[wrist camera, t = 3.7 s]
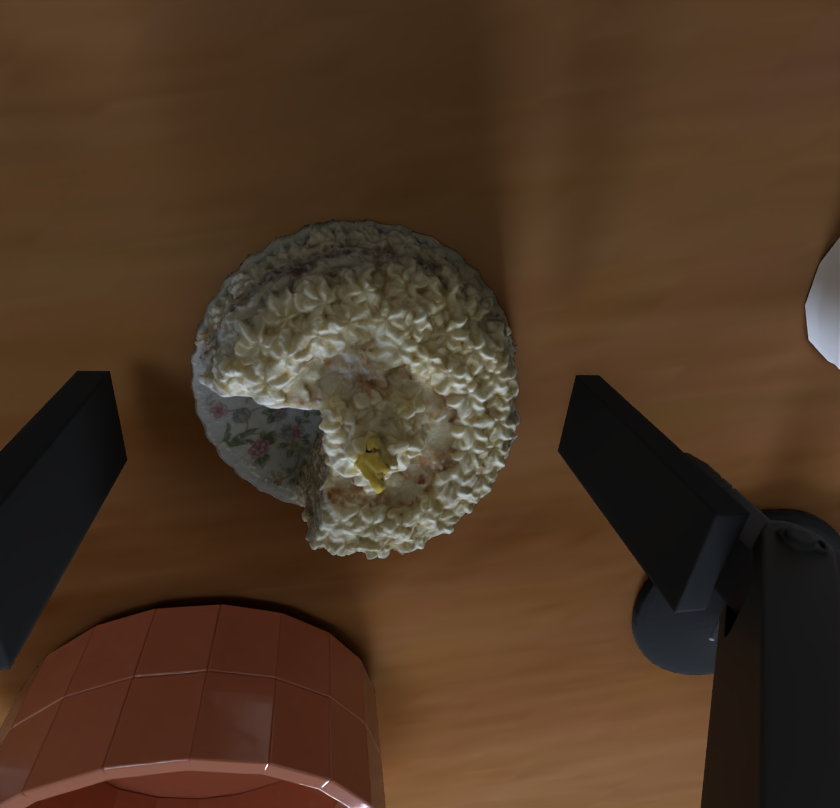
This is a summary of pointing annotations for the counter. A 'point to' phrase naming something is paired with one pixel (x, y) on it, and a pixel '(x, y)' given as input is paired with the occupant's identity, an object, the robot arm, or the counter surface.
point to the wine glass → (697, 615)
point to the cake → (359, 383)
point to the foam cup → (826, 307)
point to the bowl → (195, 717)
